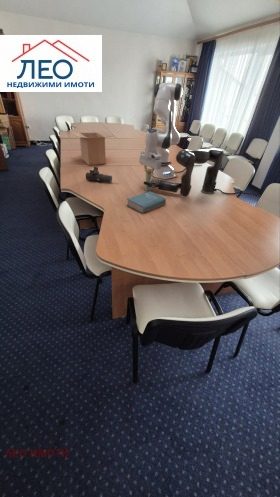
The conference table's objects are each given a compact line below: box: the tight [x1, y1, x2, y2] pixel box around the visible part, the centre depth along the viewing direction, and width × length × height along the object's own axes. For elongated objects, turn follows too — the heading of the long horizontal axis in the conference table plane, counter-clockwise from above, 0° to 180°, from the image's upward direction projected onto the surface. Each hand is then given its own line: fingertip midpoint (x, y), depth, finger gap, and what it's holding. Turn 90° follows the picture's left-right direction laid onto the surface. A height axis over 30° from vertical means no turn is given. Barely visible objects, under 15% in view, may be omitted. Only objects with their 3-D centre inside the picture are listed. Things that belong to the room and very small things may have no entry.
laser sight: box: [85, 166, 113, 184], centre depth 187 cm, size 10×22×10 cm, turn 78°
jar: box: [144, 172, 152, 192], centre depth 176 cm, size 4×4×16 cm
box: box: [70, 129, 114, 166], centre depth 229 cm, size 44×36×27 cm
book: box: [126, 190, 167, 214], centre depth 156 cm, size 23×16×5 cm
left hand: (148, 172), depth 172 cm, fingers closed on lid, 5 cm apart
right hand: (144, 181), depth 178 cm, fingers closed on jar, 4 cm apart
